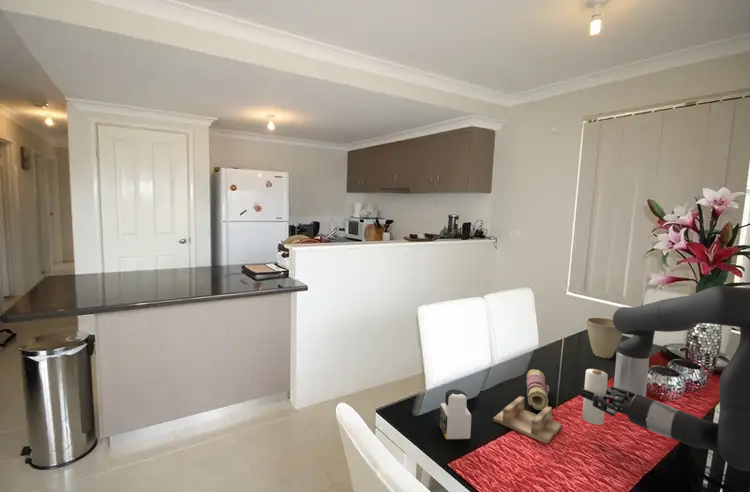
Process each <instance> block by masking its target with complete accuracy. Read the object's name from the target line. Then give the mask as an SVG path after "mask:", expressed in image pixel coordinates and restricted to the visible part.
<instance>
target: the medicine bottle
mask: <svg viewBox="0 0 750 492" xmlns="http://www.w3.org/2000/svg"><path fill="white" fill-rule="evenodd" d="M467 400H468V395H467V393H465V391H463V390H460V389H456V388H455V389H449V390H447V391H446V392H445V401H444V402H441V403H440V409H439V411H440V412H439V427H440V429H441V431H442V434H443V436H444V438H445V439H446V440H465V439H466V440H469V439H471V428H472V414H471V412H470V411H469V410H468V407H467V402H468V401H467Z"/></svg>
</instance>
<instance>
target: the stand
mask: <svg viewBox="0 0 750 492" xmlns="http://www.w3.org/2000/svg"><path fill="white" fill-rule="evenodd" d="M552 414H553V407H552V406H549V405H547V406H546V407H545V408H544V409H543V410H540V412H539V413H538V414H536V413H534V412H531V411H529V410H526V409H525V397H524V396H521V395H519V396H518V397H517V398H516V399H514V400H513V401H512V402H511V403H509V404H508V405H507V406H505V407H504V408H502V410H501V411H500V412H499V413H497V414H496V415H495V416H493V418H492V419H493V420H492V421H493V422H495V423H496V424H499V425H501V426H505V427H507V428H509V429H511V430H513V431H516V432H518V433H521V434H522V435H525V436H527V437H530V438H531V439H535V440H536V441H539V442H542V443H544V444H548V443H549V442H550V441H551V440H552V438H554V436H555V435H556V434H557V433H558V432H559V431H560V429H561V428H562V423H559V422H558V421H555V420H552Z"/></svg>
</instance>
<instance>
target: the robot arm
mask: <svg viewBox="0 0 750 492" xmlns="http://www.w3.org/2000/svg"><path fill="white" fill-rule="evenodd" d="M612 320H613V324H614V326H615V328H616V329H617V330H618V331H619V332H621V333H623V334H622V335H630V336H631V337H630V338H628V339H626V340H625V339H624V340H622V341H620V342H619V343H618V345H617V349H616V354H615V356H616V357H615V367H614V369H615V370H614V381H613V382H614V383H613V386H610V388H609V387H608V386H607V390H606V394H605V395H599V394H595V393H593V392H590V391H588V390H585V389H584V388H580V390H579V396H580V397H581V398H583V399H584V398H586V399H589V400H591V401H593V406H594V407H596V408H598V409H600V410H602V411H604V412H605V413H604V414H607V415H609V416H613V417H615V416H616V413H619V414H623V415H626V416H627V417H628V420H629V422H631V423H632V424H633V425H636V426H639V427H641V428H643V429H646V430H648V431H651V432H653V433H656V434H658V435H661V436H664V437H666V438H667V437H668V438H669V439H673V440H675V441H678V442H680V443H681V444H682V443H683V444H685V445H688V446H690V447H693V448H695V449H705V450H709V451H712V452H715V453H717V454H719V455H720V456H721V458H722V459H723V460H724V462H726V463H727V464H728V465H729V466H731V467H733V468H734V469H737V470H740V471H745V472H749V471H750V287H749V288H748V287H742V286H741V287H739V286H728V285H717V286H712V287H707V288H705V289H703V290H700V291H698V292H695V293H692V294H690V295H683V296H677V297H676V296H675V297H671V298H666V299H662V300H658V301H653V302H650V303H646V304H643V305H639V306H631V307H630V306H621V307H619V308H617V310H615V311H614V313H613V315H612ZM698 324H712V325H718V326H726V327H734V328H735V327H737V328H739V332H740V333H739V335H740V337H739V342H738V346H737V347H736V348H737V349H736V350H735V352H734V354H733V355H732V357H731V358H730V360H729V361H728V362H727V364H726V366H725V367H724V368H723V370H722V372H721V374H720V377H719V384H718V386H719V387H718V388H719V389H718V390H719V409H720V410H719V411H720V413H719V414H720V415H719V421H718V423H717V422H712V421H709V420H705V419H703V418H701V417H698V416H696V415H693V414H690V413H688V412H685V411H683V410H679V409H676V408H675V407H673V406H670V405H668V404H666V403H663V402H660V401H657V400H654V399H652V398H649V397H647V386H648V377H649V376H648V375H649V366H650V365H649V364H650V363H649V362H650V356H651V355H650V354H651V351H652V350H653V344H654V339H655V332H661V333H662V332H665V333H671V332H672V333H675V332H685V331H689V330H692V329H694V328H695V327H696V326H697V325H698ZM600 398H601V399H600ZM602 399H604V400H602ZM600 405H601V406H600Z"/></svg>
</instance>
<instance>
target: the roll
mask: <svg viewBox="0 0 750 492" xmlns="http://www.w3.org/2000/svg"><path fill="white" fill-rule="evenodd" d="M608 378H609V377H608V373H607V372H605V371H603V370H600V369H598V368H597V369H595V368H587V369H586V370H585V377H584V388H583V389H585V390H588V391H590V392H593V393H595V394H599V395H605V394H606V390H607V387H608ZM600 399H601V398H600ZM602 400H604V399H602ZM600 406H601V405H600ZM581 413H582V414H581V418H582V419H583V420H584V421H585V422H587V423H588V424H591V425H597V426H599V425H600V426H601V425H603V424H604V422H605V414H606V413H605V412H604V411H602V410H600V409H598V408H596V407H594V406H593V401H591V400H589V399H586V398H584V397H583V403H582V412H581Z"/></svg>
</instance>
